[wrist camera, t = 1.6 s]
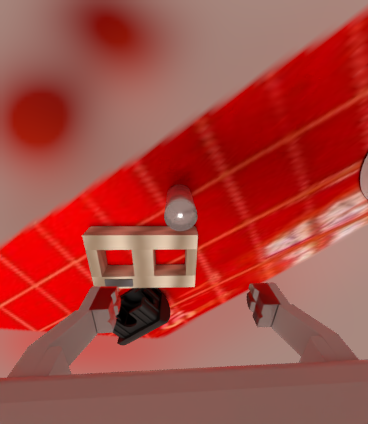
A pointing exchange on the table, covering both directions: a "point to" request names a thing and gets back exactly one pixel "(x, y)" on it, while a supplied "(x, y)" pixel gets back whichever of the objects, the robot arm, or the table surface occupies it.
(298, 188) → the table surface
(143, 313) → the end cap
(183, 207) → the metal pin
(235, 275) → the table surface
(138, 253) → the beige rectangular frame
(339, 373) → the robot arm
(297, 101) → the table surface
